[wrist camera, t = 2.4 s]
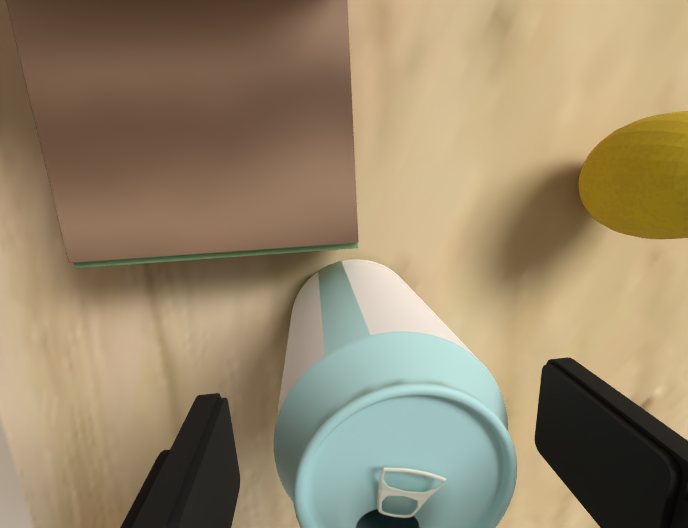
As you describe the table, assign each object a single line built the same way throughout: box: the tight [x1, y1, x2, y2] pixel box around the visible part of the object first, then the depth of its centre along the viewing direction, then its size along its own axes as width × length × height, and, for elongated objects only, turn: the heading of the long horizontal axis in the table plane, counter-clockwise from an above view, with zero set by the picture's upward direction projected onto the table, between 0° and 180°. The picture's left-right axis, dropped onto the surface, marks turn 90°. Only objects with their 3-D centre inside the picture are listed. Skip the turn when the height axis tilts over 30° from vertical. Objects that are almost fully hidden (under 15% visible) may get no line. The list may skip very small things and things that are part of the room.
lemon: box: [579, 111, 688, 239], centre depth 16 cm, size 6×6×8 cm
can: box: [274, 259, 517, 528], centre depth 15 cm, size 7×7×12 cm
